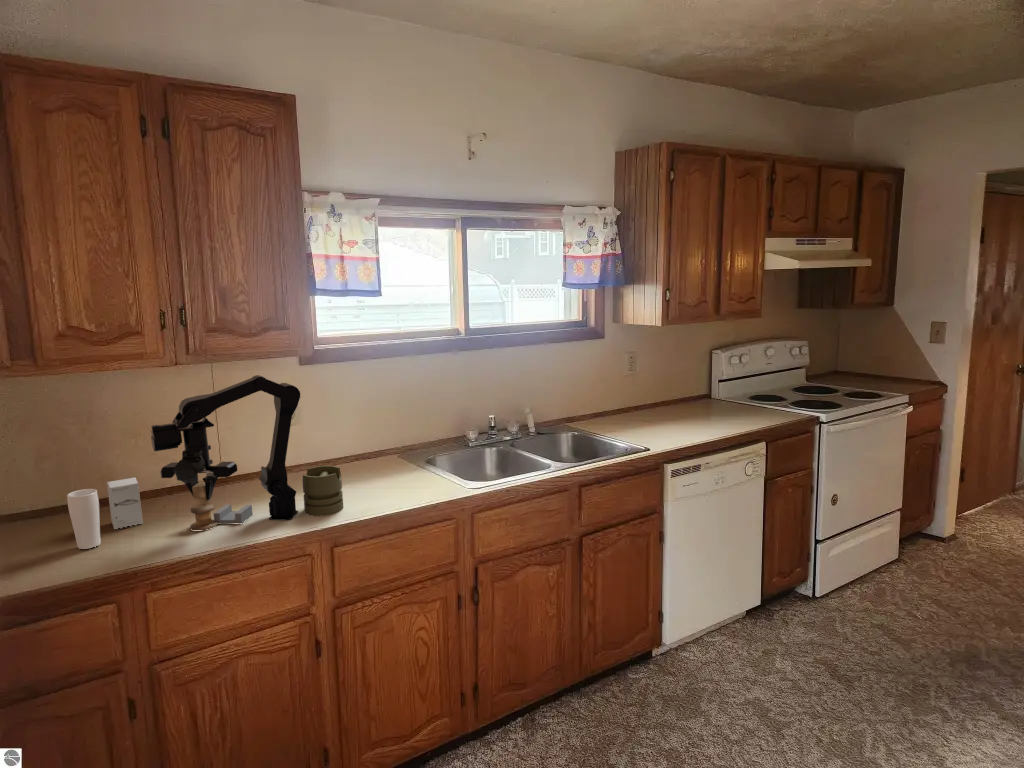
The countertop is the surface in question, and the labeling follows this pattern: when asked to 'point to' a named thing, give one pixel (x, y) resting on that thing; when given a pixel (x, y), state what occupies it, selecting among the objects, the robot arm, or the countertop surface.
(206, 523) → the spool
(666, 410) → the countertop surface
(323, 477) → the grooved olive planter pot
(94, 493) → the drinking glass
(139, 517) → the supplement box
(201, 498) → the wooden block
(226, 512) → the grey u-shaped channel block
